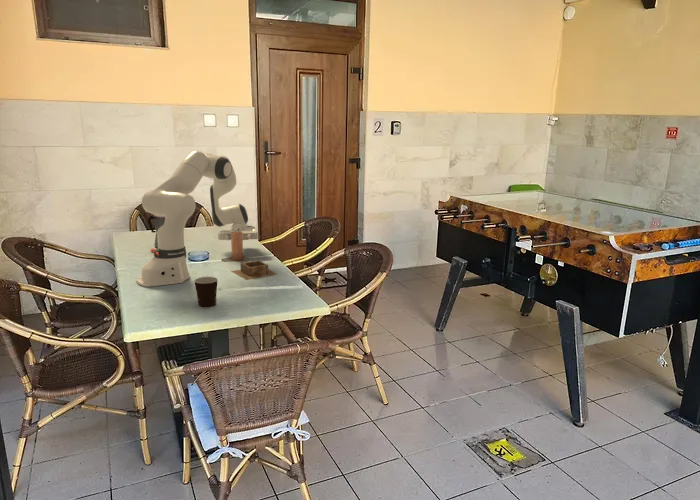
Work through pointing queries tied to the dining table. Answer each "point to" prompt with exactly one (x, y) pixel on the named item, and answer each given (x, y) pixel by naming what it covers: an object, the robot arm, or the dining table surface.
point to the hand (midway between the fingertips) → (237, 238)
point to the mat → (236, 261)
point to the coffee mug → (206, 291)
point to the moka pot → (156, 225)
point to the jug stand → (254, 270)
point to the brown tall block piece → (237, 246)
